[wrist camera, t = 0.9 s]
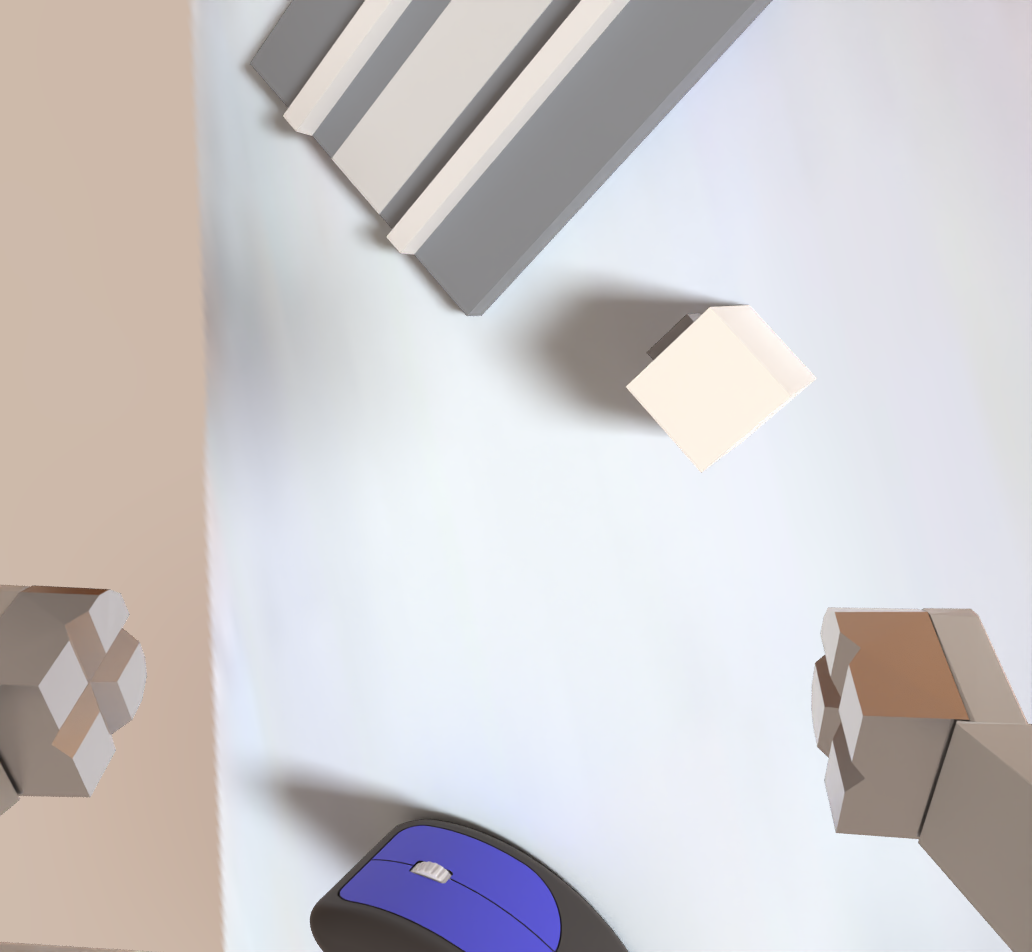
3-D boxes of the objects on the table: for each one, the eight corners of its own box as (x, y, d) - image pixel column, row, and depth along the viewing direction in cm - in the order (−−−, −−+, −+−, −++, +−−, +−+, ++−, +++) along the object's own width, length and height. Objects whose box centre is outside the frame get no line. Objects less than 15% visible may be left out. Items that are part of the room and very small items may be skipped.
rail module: (739, 294, 39) (698, 293, 32) (817, 378, 38) (790, 395, 32) (668, 361, 41) (614, 374, 34) (741, 442, 40) (701, 472, 33)
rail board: (518, -290, 39) (489, -329, 36) (788, -17, 36) (777, -40, 34) (270, 70, 46) (232, 57, 44) (481, 315, 44) (454, 316, 41)
